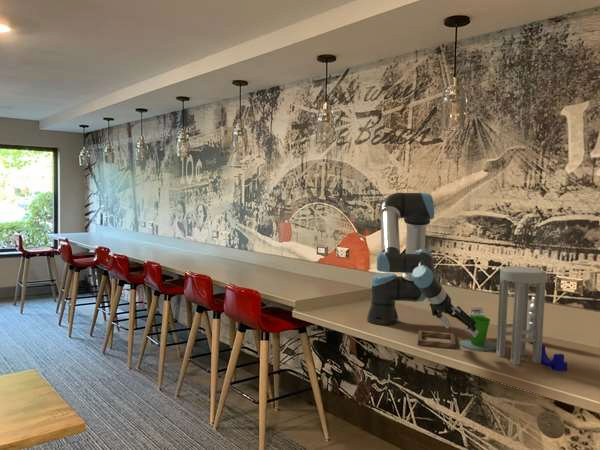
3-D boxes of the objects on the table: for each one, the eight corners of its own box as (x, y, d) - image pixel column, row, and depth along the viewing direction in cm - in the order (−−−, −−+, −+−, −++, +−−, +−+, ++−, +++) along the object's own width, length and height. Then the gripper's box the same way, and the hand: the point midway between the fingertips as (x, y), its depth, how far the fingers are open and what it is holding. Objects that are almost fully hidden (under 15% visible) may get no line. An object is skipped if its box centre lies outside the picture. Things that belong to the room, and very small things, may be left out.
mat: (453, 341, 208) (453, 340, 208) (481, 339, 213) (481, 338, 213) (474, 352, 195) (474, 351, 195) (503, 349, 199) (503, 348, 199)
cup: (491, 348, 199) (492, 322, 198) (467, 346, 200) (469, 320, 200) (487, 342, 207) (488, 316, 207) (464, 340, 209) (465, 315, 208)
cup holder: (417, 344, 203) (417, 340, 203) (418, 334, 218) (418, 330, 218) (455, 348, 199) (455, 343, 199) (453, 338, 214) (454, 333, 214)
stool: (488, 353, 195) (492, 266, 192) (522, 351, 198) (527, 265, 195) (513, 367, 180) (518, 273, 177) (549, 364, 183) (555, 272, 180)
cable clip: (566, 371, 177) (567, 355, 177) (555, 371, 176) (556, 355, 176) (545, 359, 189) (546, 344, 189) (534, 360, 188) (535, 344, 188)
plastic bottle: (541, 341, 212) (543, 295, 210) (543, 345, 205) (546, 299, 204) (524, 339, 214) (527, 294, 212) (526, 344, 207) (529, 297, 206)
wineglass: (484, 334, 220) (486, 308, 219) (483, 338, 214) (484, 311, 213) (468, 332, 223) (470, 306, 222) (467, 336, 217) (468, 309, 216)
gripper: (409, 298, 197) (433, 329, 207) (459, 312, 176) (483, 346, 186) (419, 284, 200) (442, 315, 209) (469, 296, 179) (493, 330, 188)
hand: (462, 330), depth 197 cm, fingers open, 13 cm apart
